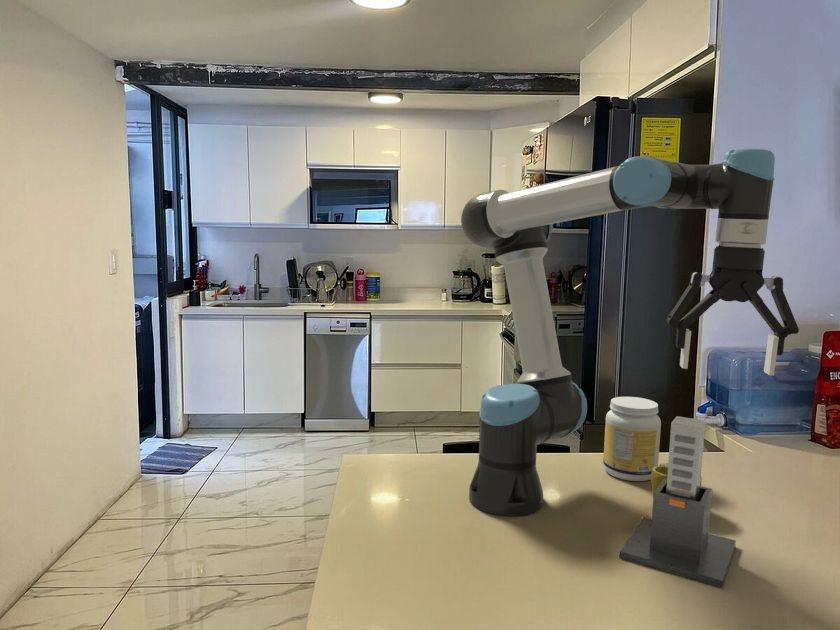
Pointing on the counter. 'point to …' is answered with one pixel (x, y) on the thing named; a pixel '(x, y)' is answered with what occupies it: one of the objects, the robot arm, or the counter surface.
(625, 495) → the counter surface
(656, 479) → the mug
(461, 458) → the counter surface
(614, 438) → the supplement tub
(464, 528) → the counter surface
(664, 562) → the stand
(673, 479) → the column
